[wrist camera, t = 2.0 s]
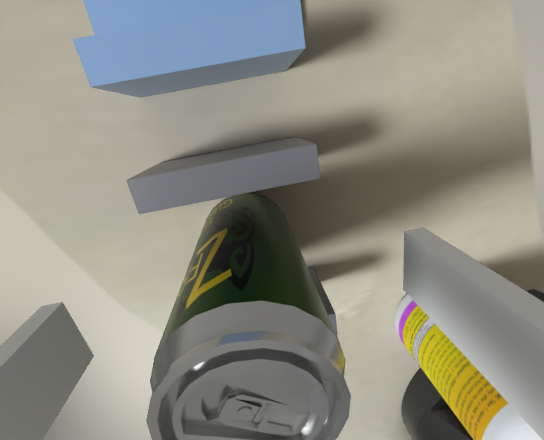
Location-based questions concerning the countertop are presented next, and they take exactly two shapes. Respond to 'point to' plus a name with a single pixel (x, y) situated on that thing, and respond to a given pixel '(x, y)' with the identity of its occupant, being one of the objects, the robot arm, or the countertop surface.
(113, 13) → the blue bezel pad
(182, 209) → the countertop surface
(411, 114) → the countertop surface
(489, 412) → the supplement bottle
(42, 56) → the countertop surface
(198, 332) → the beer can
